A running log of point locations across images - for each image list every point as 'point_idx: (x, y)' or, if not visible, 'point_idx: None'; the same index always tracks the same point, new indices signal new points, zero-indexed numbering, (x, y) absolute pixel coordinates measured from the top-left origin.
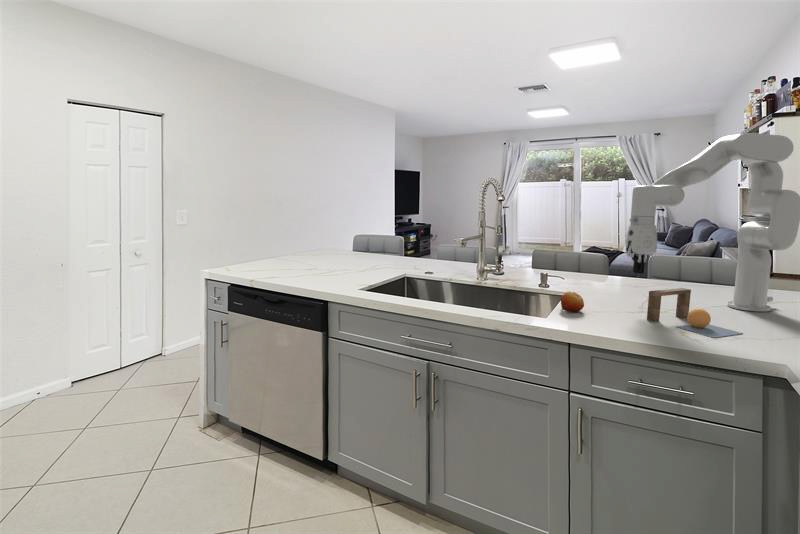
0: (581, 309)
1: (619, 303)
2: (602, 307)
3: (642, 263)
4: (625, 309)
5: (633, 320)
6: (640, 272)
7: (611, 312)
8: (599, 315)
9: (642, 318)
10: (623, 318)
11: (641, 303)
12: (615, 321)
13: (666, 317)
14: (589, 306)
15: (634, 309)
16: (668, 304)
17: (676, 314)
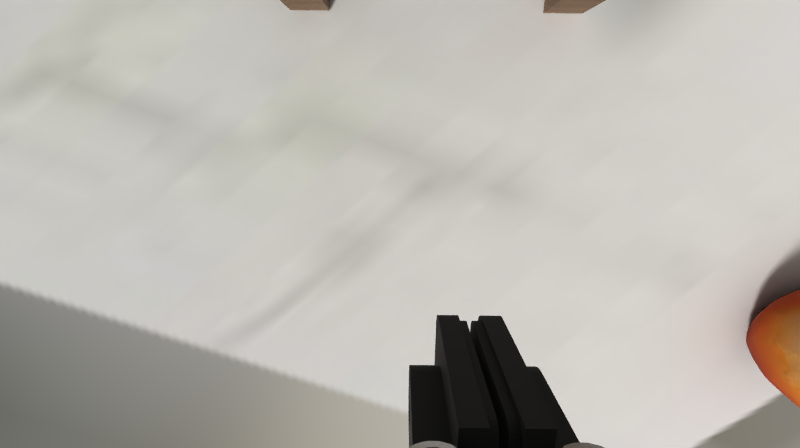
0: (787, 294)
1: (386, 369)
2: (557, 333)
3: (495, 424)
4: (475, 255)
5: (669, 34)
6: (501, 321)
7: (613, 230)
8: (739, 202)
9: (573, 51)
10: (679, 95)
11: (262, 329)
12: (788, 57)
13: (410, 12)
14: (603, 373)
15: (424, 237)
16: (120, 257)
17: (326, 2)
